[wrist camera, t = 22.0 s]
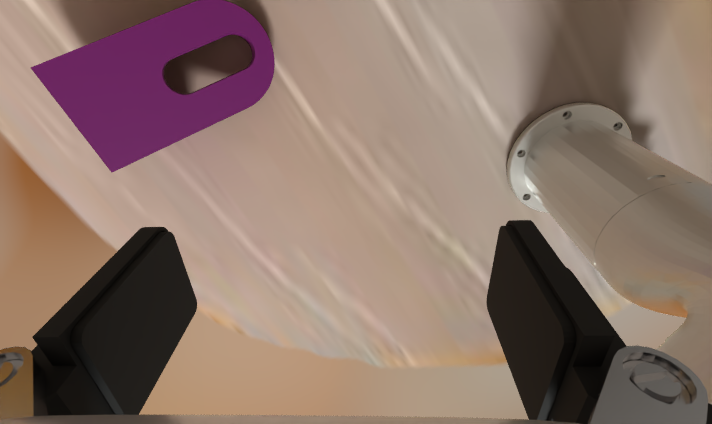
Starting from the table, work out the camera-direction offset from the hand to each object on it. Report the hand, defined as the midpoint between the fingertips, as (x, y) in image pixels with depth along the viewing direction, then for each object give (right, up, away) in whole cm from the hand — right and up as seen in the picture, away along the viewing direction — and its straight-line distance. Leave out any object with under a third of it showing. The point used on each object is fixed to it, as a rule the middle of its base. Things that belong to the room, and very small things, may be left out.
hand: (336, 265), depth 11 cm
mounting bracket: (-16, +16, +27) cm, 35 cm away
